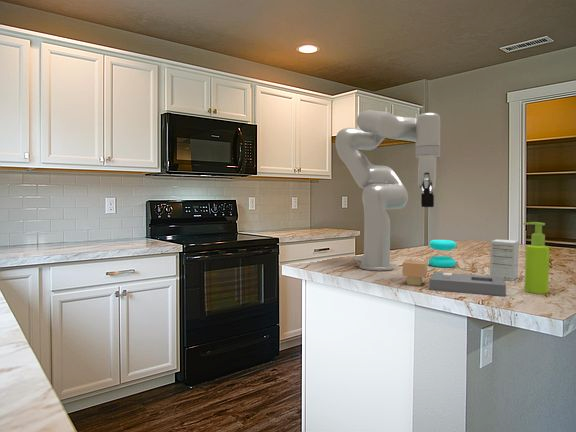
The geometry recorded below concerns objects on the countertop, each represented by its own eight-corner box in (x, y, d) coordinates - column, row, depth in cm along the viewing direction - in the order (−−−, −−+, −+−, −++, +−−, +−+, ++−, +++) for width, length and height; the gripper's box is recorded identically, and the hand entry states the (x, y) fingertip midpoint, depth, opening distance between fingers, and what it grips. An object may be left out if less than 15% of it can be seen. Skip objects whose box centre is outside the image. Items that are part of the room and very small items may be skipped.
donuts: (424, 240, 174) (436, 238, 181) (424, 265, 174) (435, 263, 181) (449, 242, 166) (460, 240, 174) (448, 268, 167) (459, 266, 174)
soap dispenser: (524, 288, 133) (527, 221, 132) (550, 291, 128) (553, 222, 127) (517, 290, 128) (520, 222, 128) (544, 294, 124) (547, 223, 123)
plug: (402, 284, 136) (402, 262, 135) (405, 281, 142) (405, 259, 141) (424, 286, 133) (425, 264, 133) (426, 282, 139) (427, 261, 139)
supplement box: (495, 275, 154) (496, 239, 154) (518, 277, 150) (519, 240, 149) (488, 278, 149) (490, 240, 148) (513, 280, 144) (514, 242, 143)
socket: (429, 289, 129) (429, 276, 129) (433, 281, 142) (434, 269, 142) (505, 296, 121) (506, 282, 121) (503, 286, 134) (503, 274, 134)
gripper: (417, 156, 150) (417, 207, 150) (413, 150, 134) (413, 206, 134) (441, 155, 148) (441, 207, 148) (439, 149, 131) (439, 206, 132)
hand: (427, 206), depth 141 cm, fingers open, 9 cm apart
